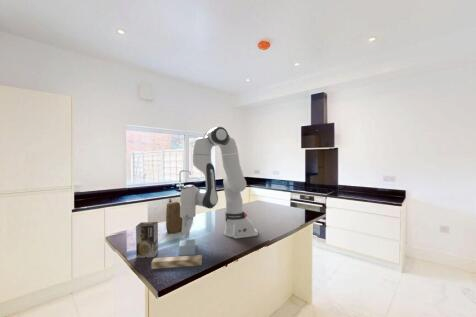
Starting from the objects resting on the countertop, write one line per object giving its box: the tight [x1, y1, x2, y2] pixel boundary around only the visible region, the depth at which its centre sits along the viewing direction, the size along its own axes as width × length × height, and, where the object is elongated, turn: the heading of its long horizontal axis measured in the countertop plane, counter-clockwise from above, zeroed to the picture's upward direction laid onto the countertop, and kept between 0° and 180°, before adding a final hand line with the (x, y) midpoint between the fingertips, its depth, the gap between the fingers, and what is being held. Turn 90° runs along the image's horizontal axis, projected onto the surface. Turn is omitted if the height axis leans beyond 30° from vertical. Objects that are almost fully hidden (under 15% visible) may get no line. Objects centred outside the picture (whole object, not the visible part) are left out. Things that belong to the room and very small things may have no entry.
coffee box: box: [135, 221, 159, 259], centre depth 108 cm, size 9×6×16 cm
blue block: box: [178, 238, 196, 256], centre depth 111 cm, size 8×8×5 cm
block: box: [165, 201, 183, 234], centre depth 143 cm, size 11×8×20 cm
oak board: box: [151, 254, 203, 270], centre depth 97 cm, size 22×4×3 cm, turn 98°
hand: (187, 237), depth 121 cm, fingers closed
